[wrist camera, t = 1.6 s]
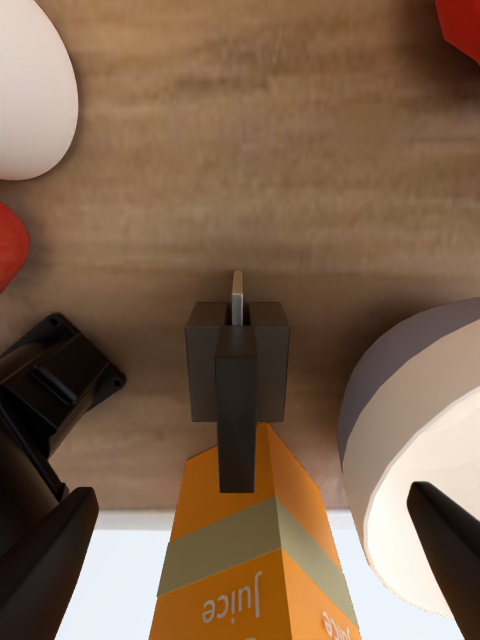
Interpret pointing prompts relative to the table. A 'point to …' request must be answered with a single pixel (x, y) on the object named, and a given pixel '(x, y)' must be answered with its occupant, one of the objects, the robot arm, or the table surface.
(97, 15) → the table surface
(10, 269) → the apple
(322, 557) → the orange juice
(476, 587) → the robot arm
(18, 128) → the beverage can
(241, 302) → the knife
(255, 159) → the table surface
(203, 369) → the knife block
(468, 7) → the tomato
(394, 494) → the bowl
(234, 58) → the table surface
